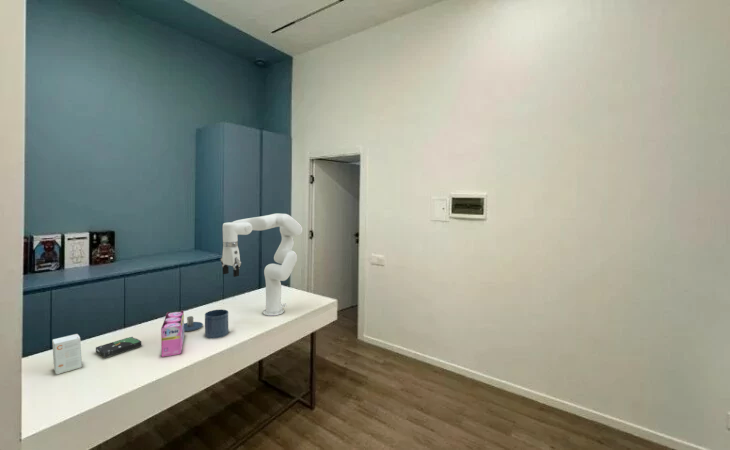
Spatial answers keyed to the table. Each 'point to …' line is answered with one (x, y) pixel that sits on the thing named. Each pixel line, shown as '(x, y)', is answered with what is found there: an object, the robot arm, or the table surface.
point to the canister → (216, 323)
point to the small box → (67, 353)
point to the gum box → (172, 333)
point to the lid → (192, 324)
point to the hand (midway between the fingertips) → (230, 275)
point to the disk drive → (118, 347)
